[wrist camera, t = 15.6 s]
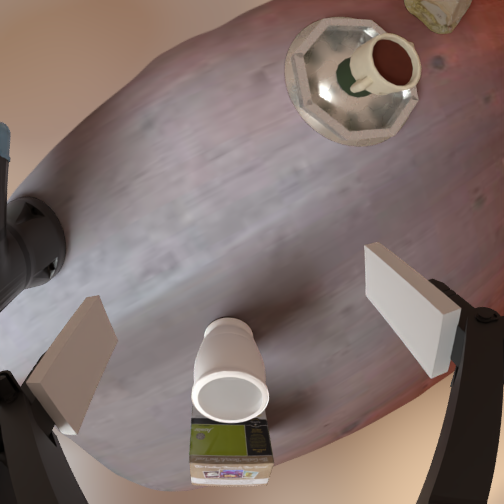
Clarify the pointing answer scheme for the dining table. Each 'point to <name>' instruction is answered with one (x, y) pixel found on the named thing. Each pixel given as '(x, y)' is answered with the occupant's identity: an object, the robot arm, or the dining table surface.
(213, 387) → the jar
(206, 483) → the tea box
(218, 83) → the dining table surface
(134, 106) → the dining table surface
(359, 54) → the character mug
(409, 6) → the ceramic model
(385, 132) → the octagonal bowl
